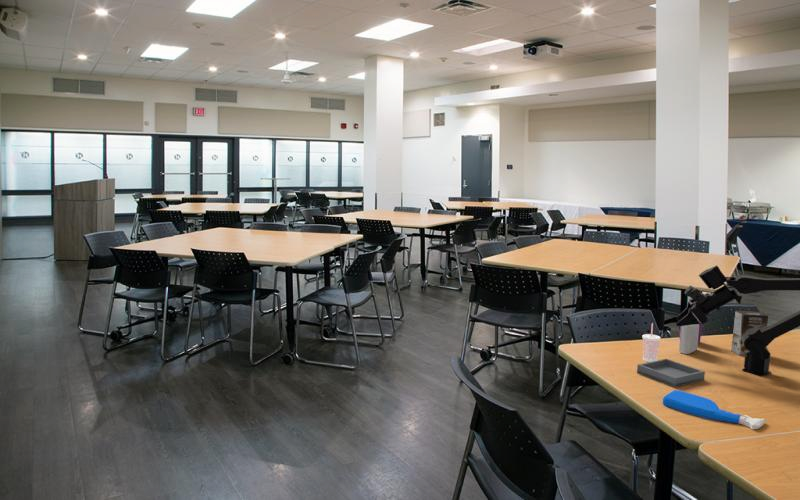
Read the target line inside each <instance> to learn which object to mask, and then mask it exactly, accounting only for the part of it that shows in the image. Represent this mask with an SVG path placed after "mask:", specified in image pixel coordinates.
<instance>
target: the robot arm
mask: <svg viewBox="0 0 800 500" xmlns="http://www.w3.org/2000/svg"><path fill="white" fill-rule="evenodd" d="M698 277H699V278H700V280H701V281H702V282H703V283H704V284H705V286H706V287H707V288H708V289H712V290H713V291H712V292H710V293H708V292H706V293H703V292H701V290H699V289H698V288H697V287H696V288H695V287H694V286H693V285H689V286H688V287H687V289H686V290H685V291H684V295H685V296H687V297H689V298H690V299H688V301H687V306H686V308H685V309H683V311H682V312H680V313H679V314H678V315H677V316H676V317H675V319H676V321H677V322H676V323H675V324H676V326H677V327H680V326H685V325H694V324H702V325H704V324H705V323H708V321H709V320H708V319H709V318H708V317H709V316H710V314H711V313H713V312H714V311H719V310H721V308H722V307H723V306H725V305H727V304H729V303H730V302H733V301H734V300H735V302H736V303H738V304H739V305H740V304H741V303H742V298H743V295H747V294H748V295H749V294H756V293H760V292H765V291H800V277H799V278H798V277H795V278H794V277H792V278H789V277H788V278H787V277H786V278H785V277H783V278H779V277H778V278H777V277H775V278H771V277H769V278H768V277H767V278H765V277H759V276H753V275H748V274H741V275H737V276H736V277H735V276H725V275H724V273H723V272H722V270H721V269H720V267H719V266H718V265H716V264H715V265H714V266H712V267H709V268H707V269H705V270H703V271H702V272H700V273H699V274H698ZM728 286H729V287H730V288H729V287H728ZM736 291H737V292H738V293H740V294H738V293H737V292H736ZM797 328H800V310H799V311H796V312H794V313H792V314H790V315H789V316H786V317H785V318H783V319H781V320H778V321H777V322H775V323H772V324H770V325H767V327H766V328H761V329H759V327H758V326H755V327H754V328H752V329H750V330H746V332H747V333H745V334H744V335H743V337H742V342H743V344H744V346H745V348H746V349H747V350H748V351H750V352H748V353H746V356H744V362H743V363H744V364H743V368H742V369H741V370H742V371H744V372H746V373H750V374H753V375H756V376H760V377H762V376H766V375H771V374H772V371H770V362H771V352H770V350H769V349H768V346H769V345H770V344H771V343H772V342H773V341H774V340H776V339H777V338H779V337H782V335H783V336H784V335H785V334H787V333H790V332H791V331H793V330H795V329H797Z"/></svg>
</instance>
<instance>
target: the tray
mask: <svg viewBox="0 0 800 500" xmlns="http://www.w3.org/2000/svg"><path fill="white" fill-rule="evenodd" d="M636 367H637V370H636V373H637V374H639V375H641V376H645V377H647V378H650V379H651V380H654V381H658V382H659V383H662V384H665V385H667V386H670V387H673V388H678V387H682V386H687V385H691V384H694V383H698V382H702V381H705V375H706V371H705V370H702V369H698V368H696V367H692V366H690V365H686V364H683V363H681V362H678V361H675V360H671V359H668V358H663V359H657V361H652V362H647V361H646V362H643V363H639V364H637V366H636Z"/></svg>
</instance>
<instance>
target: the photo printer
mask: <svg viewBox="0 0 800 500" xmlns="http://www.w3.org/2000/svg"><path fill="white" fill-rule="evenodd" d="M698 335H699V324H694V325H685V326H681V334H680V333H679V337H680V338H679V349H678V352H680V353H681V354H683V355H684V354H685V355H689V354H691V353H694V352H695V351H697V350H698V345H699V343H698Z"/></svg>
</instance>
